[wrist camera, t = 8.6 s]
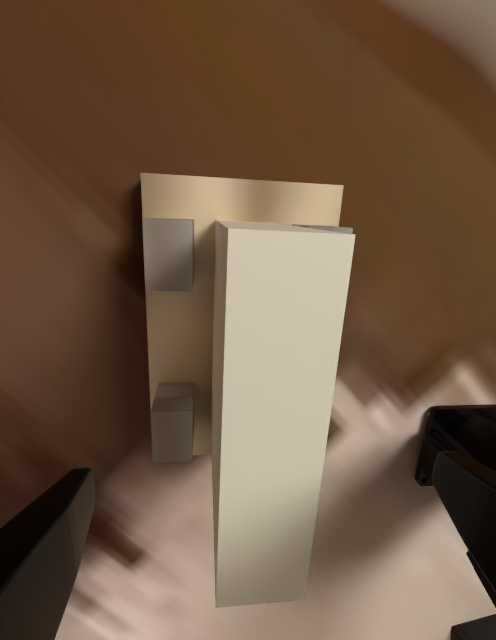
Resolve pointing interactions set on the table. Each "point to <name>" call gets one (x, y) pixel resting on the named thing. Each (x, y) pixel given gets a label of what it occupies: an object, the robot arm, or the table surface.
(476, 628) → the barrier
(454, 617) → the table surface
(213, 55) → the table surface
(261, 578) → the cabinet door panel
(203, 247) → the hinge clip plate
